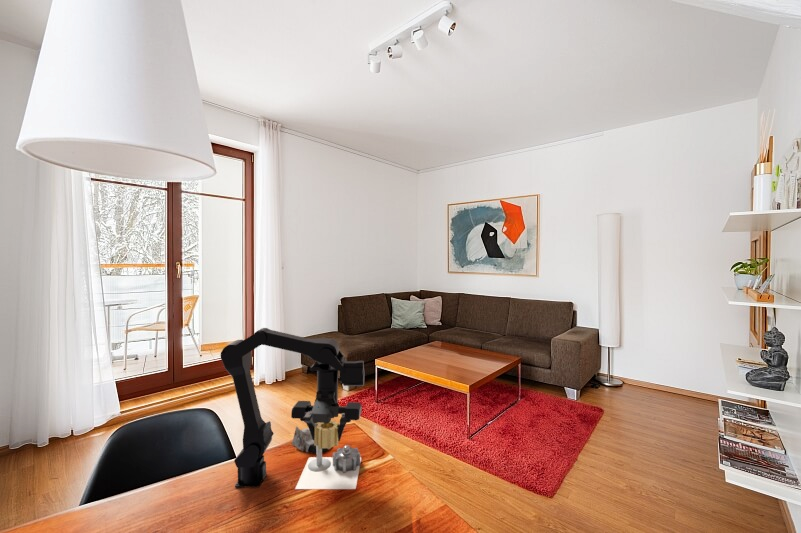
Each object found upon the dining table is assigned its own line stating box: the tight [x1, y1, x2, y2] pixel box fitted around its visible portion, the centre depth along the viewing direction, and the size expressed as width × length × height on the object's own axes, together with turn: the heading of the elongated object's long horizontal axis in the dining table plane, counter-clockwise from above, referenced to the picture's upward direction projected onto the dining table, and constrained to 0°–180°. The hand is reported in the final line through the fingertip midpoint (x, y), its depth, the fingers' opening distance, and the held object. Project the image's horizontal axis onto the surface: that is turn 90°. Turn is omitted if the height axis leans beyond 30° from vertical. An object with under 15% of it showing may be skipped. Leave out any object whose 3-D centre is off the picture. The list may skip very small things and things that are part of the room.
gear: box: [332, 444, 361, 473], centre depth 107 cm, size 8×8×6 cm
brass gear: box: [314, 420, 340, 450], centre depth 102 cm, size 7×7×5 cm
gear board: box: [294, 445, 362, 490], centre depth 103 cm, size 16×15×8 cm
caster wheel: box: [291, 425, 330, 454], centre depth 118 cm, size 7×11×10 cm
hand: (326, 440), depth 102 cm, fingers closed on brass gear, 7 cm apart
